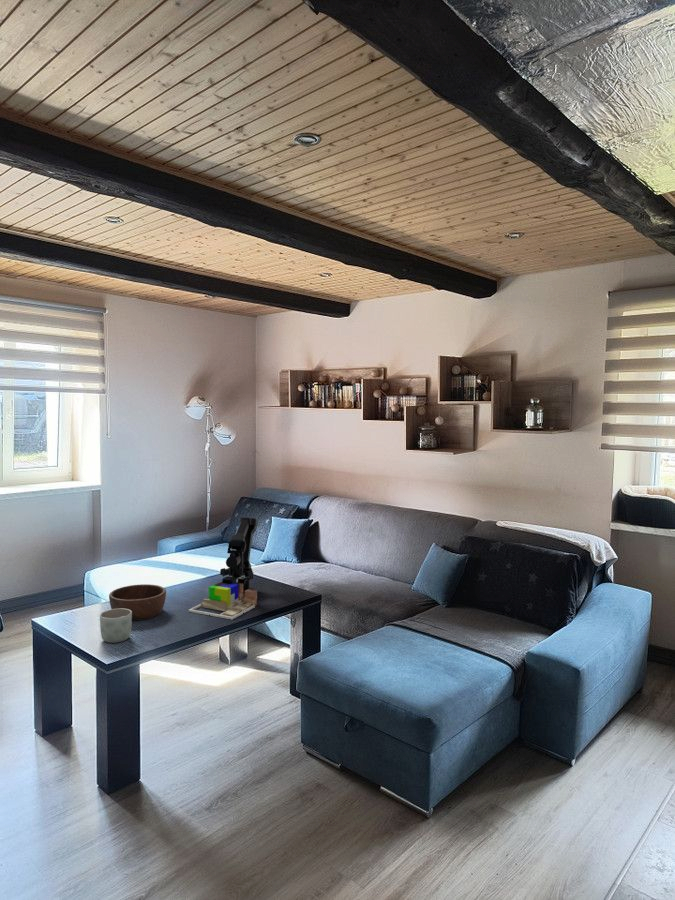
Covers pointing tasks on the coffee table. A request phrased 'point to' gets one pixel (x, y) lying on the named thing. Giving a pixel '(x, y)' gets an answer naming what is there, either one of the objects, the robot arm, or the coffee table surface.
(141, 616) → the wooden bowl
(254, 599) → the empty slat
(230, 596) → the puzzle toy
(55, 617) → the coffee table surface
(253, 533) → the robot arm
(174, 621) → the coffee table surface
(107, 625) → the planter
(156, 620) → the coffee table surface
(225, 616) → the frame
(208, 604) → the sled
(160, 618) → the coffee table surface
